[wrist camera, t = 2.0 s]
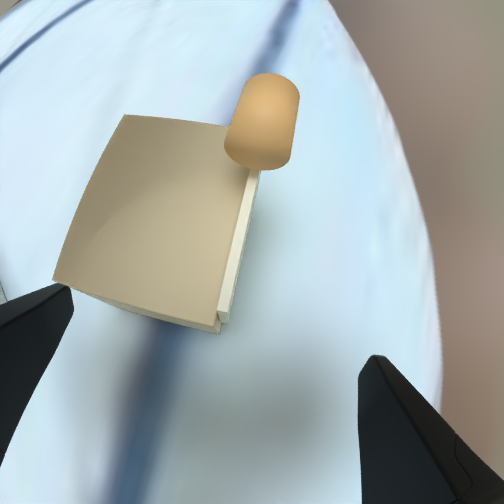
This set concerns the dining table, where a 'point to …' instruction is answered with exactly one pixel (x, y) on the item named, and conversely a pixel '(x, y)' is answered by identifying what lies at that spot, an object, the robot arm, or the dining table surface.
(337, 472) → the dining table surface
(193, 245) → the kraft carton
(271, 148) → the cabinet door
